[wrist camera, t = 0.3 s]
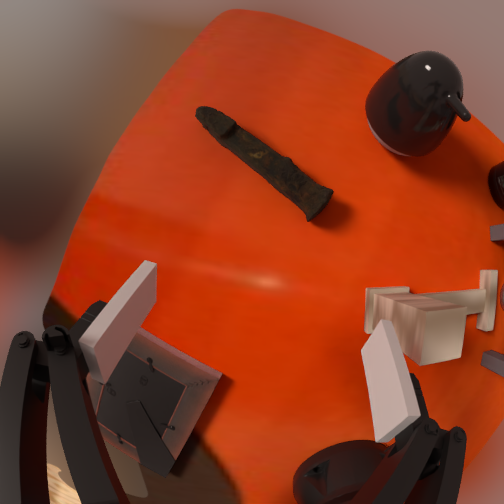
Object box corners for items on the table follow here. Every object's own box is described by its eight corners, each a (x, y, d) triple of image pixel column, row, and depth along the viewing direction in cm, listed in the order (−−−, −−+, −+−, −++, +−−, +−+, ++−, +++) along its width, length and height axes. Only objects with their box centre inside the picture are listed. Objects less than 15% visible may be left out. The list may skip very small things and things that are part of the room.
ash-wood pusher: (482, 326, 27) (546, 347, 14) (363, 342, 29) (409, 391, 16) (486, 269, 27) (555, 271, 14) (366, 274, 29) (422, 282, 16)
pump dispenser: (373, 172, 30) (431, 112, 15) (347, 100, 30) (376, 18, 15) (438, 164, 29) (507, 117, 14) (411, 97, 29) (457, 32, 14)
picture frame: (171, 469, 32) (223, 371, 31) (165, 478, 29) (219, 379, 29) (86, 414, 33) (114, 307, 33) (77, 420, 31) (104, 310, 31)
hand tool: (332, 200, 30) (340, 189, 26) (309, 225, 31) (313, 218, 26) (217, 106, 32) (208, 87, 28) (195, 127, 33) (183, 109, 28)
